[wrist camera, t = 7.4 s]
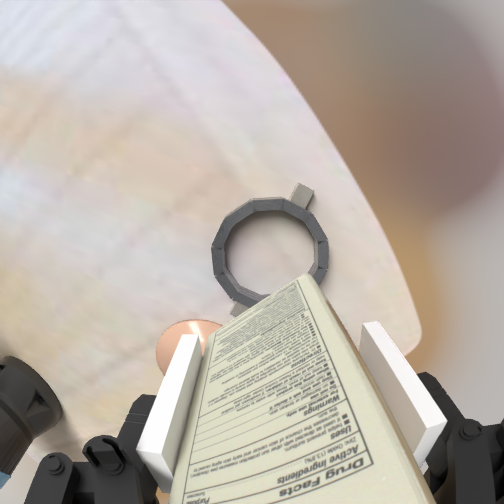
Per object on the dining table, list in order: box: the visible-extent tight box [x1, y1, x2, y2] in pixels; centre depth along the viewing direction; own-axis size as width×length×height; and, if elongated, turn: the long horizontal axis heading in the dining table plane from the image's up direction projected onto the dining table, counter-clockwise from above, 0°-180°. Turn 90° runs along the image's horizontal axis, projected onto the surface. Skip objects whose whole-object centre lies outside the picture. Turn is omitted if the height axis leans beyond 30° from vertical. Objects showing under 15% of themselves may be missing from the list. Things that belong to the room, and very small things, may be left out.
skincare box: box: [168, 273, 436, 504], centre depth 9 cm, size 6×4×12 cm
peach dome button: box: [156, 319, 222, 376], centre depth 32 cm, size 11×11×1 cm
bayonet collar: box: [211, 183, 328, 317], centre depth 28 cm, size 15×11×2 cm
